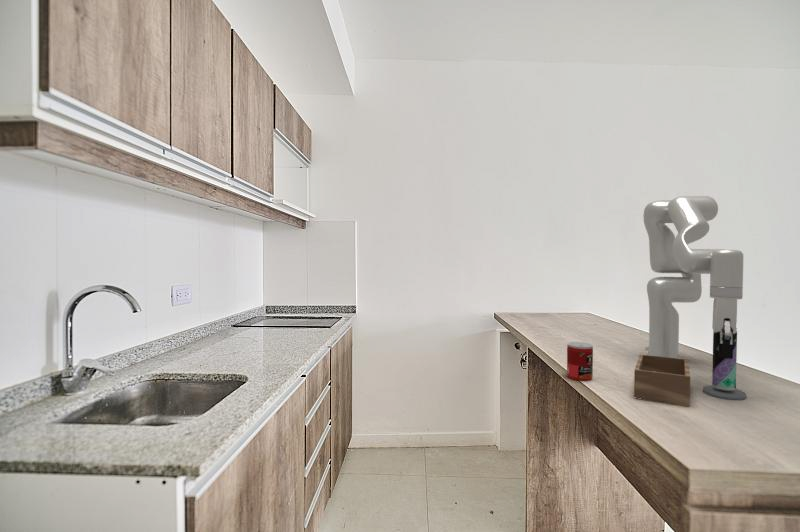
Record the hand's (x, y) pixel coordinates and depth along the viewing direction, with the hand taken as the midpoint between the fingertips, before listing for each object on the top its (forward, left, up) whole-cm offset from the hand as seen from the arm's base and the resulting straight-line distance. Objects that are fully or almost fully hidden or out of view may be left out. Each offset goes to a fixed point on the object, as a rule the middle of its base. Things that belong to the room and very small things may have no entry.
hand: (724, 355), depth 125 cm
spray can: (0, 0, -10) cm, 10 cm away
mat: (0, 0, -11) cm, 11 cm away
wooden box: (-4, -16, -11) cm, 20 cm away
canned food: (-20, -33, -11) cm, 40 cm away
